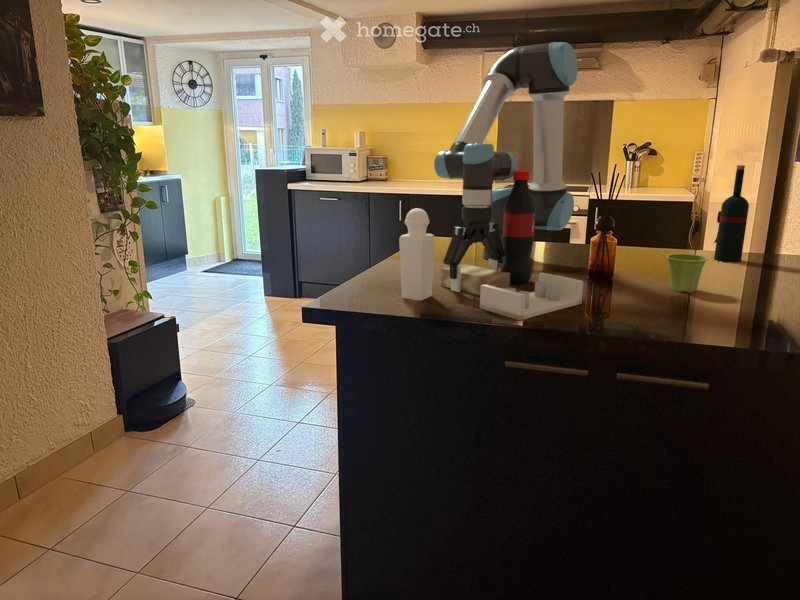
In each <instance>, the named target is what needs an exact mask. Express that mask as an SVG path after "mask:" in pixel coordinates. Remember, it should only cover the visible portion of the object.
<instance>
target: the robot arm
mask: <svg viewBox="0 0 800 600" xmlns="http://www.w3.org/2000/svg"><path fill="white" fill-rule="evenodd" d="M578 67H579V66H578V58H577V55H576V52H575V51H574V48H573V46H571V44H570V43H568V42H563V41H558V42H556V41H553V42H546V43H539V44H531V45H519V46H517V47H513V48H511V49H510V50H508V51H506V53H504V54H503V55H501V56H500V57H499V58H498V60H496V62H494V63H493V65H492V66H491V67H490V68H489V70H488V71H487V73H486V75H485V76H484V78H483V82H482V84H483V88H482V89H481V91H480V93H479V94H478V96H477V99H476V101H475V102H474V104H473V106H472V107H471V110H470V111H469V113H468V114H467V117H466V119H465V120H464V122H463V124H462V126H461V128H460V129H459V131H458V133H457V135H456V137H455V138H454V141H453V143H452V144H451V146H450V147H449V149H448V150H442V151H439V152H438V153H437V154H436V156H435V158H434V162H433V167H434V171H435V173H436V175H437V177H440V178H441V179H448V180H462V198H461V199H462V201H461V202H462V203H461V204H462V205H463V206H462V208H461V220H462V222H463V226H462V227H461V226H454V227H453V228H452V229H453V231H452V237H451V240H450V243H449V245H448V247H447V250H446V253H445V256H444V259H443V261H442V263H443V264H444V265H447V266H448V267H450V278H451V288H450V291H453V292H456V293H460V292H461V290H460V279H461V267H460V266H458V265H460V263H461V262H462V260H463V259H464V257H465V255H466V253H467V251H468V250H469V248H470V246H473V244H476V243H477V244H478V243H481V244H482V245H483V247H484V248H483V249H482V258H484V259H486V260H488V264H487V269H492V270H497V271H499V268H500V267H499V264H500V262H503V261H504V256H505V252H504V248H503V239H502V236H503V223H504V206H505V203H506V201H507V199H508V196H509V194H510V193H511V191H512V188H513V186H511V187H505V188H503V187H502V188H496V189H493V183H494V182H496V181H502V182H503V181H505V180H508V179H511V178H513V175H514V172H515V171H518V160H517V158H516V156H515V155H514V154H513V153H512V152H509V151H506V150H497V151H496V150H495V147H494V145H493V144H492V143H484V142H485V140H486V138H487V136H488V135H489V132H490V131H491V129H492V127H493V125H494V123H495V121H496V120H497V117H498V115H499V113H500V112H501V110H502V108H503V105H504V103H505V102H506V100H507V99H510V98H511V97H512V96H513V94H514V92H515V91H517V90H520V89H528V96H529V97H530V98H531V99H532V101H533V165H532V167H533V172H532V173H533V174H532V175H533V179H532V180H533V181H532V182H531V184H530V185H528V188H529V191H530V193H531V196H532V198H533V201H534V204H535V208H536V211H535V220H534V230H535V229H537V230H547V231H561V230H563V229H564V228H566V227H567V225H568V224H569V222H570V219H571V217H572V215H573V211H574V206H575V205H574V204H575V199H574V196H573V194H572V193H571V192H568V185H567V184H566V183H565V182H564V180H563V156H564V155H563V154H564V153H563V150H564V147H563V146H564V108H565V107H564V105H565V104H564V103H565V100H564V99H565V97H566V96H567V95H569V93H570V86H572V85H574V84H575V83H576V81H577V76H578V74H579V73H578V72H579V71H578V70H579V68H578Z"/></svg>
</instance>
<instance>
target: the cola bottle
mask: <svg viewBox="0 0 800 600" xmlns="http://www.w3.org/2000/svg"><path fill="white" fill-rule="evenodd" d="M529 178H530V172H529V171H528V170H516V171H515V172H514V175H513V176H512V180H513V182H514V183H513V186H512V187H513V188H512V187H511V188H512V191H511V193H510V194H509V196H508V199H507V201H506V203H505V206H504V223H503V236H502V239H503V248H504V252H505V256H504V261H502V264H501V268H500V271H502V272H507V273H510V284H511V285H512V284H513V285H521V284H522V285H523V284H527V283H528V282H529V281H530V280H531V278H532V275H533V265H532V262H531V255H532V250H533V245H534V241H535V235H534V233H535V229H534V220H535V211H536V208H535V204H534V201H533V198H532V196H531V193H530V191H529V188H528V187H529V184H528V183H529V182H528V181H529V180H530V179H529Z"/></svg>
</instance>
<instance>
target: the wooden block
mask: <svg viewBox="0 0 800 600" xmlns="http://www.w3.org/2000/svg"><path fill="white" fill-rule="evenodd" d="M458 266H460V267H461V279H460V291H461V290H462V292H467V293H470V294H475V295H479V296H480V289H481V285H484V284H486V285H490V286H494V287H498V288H502V289H504V288H510V284H511V283H510V273H507V272H502V271H501V270H498V271H497V270H492V269H488V267H487V268H485V267H479V266H476V265H470V264H466V263H463V264H462V263H461V264H459V265H458ZM440 286H442V287H445V288H450V289H451V278H450V266H448V267H444V268H443V267H442V268H440Z"/></svg>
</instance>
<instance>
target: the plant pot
mask: <svg viewBox="0 0 800 600" xmlns="http://www.w3.org/2000/svg"><path fill="white" fill-rule="evenodd" d="M666 258H667V262H668V265H669V266H668V267H669V287H670V290H672V291H675V292H678V293H679V292H680V293H681V292H686V293H694V292H696V291H697V289H698V285H699V283H700V282H699V281H700V278H701V275H702V271H703V267H704V266H705V265H706V262H707V260H708V257H706V256H703V255H699V254H693V253H692V254H691V253H690V254H689V253H671V254H667V255H666Z"/></svg>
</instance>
